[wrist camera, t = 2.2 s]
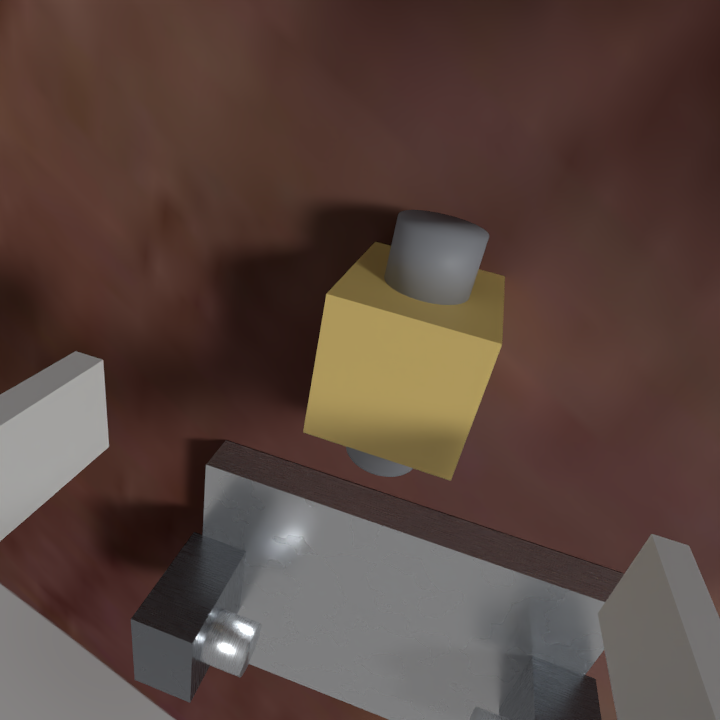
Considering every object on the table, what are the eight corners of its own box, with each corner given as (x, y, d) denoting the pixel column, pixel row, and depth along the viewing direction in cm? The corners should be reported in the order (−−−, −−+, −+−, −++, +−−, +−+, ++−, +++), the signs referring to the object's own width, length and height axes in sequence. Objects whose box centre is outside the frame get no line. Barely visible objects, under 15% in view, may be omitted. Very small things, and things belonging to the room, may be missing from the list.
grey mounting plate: (206, 612, 34) (138, 729, 27) (217, 437, 26) (125, 543, 20) (522, 734, 31) (524, 895, 25) (634, 577, 23) (679, 751, 17)
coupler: (386, 188, 18) (338, 223, 13) (523, 222, 18) (528, 274, 13) (344, 391, 23) (295, 476, 18) (452, 424, 22) (434, 524, 17)
